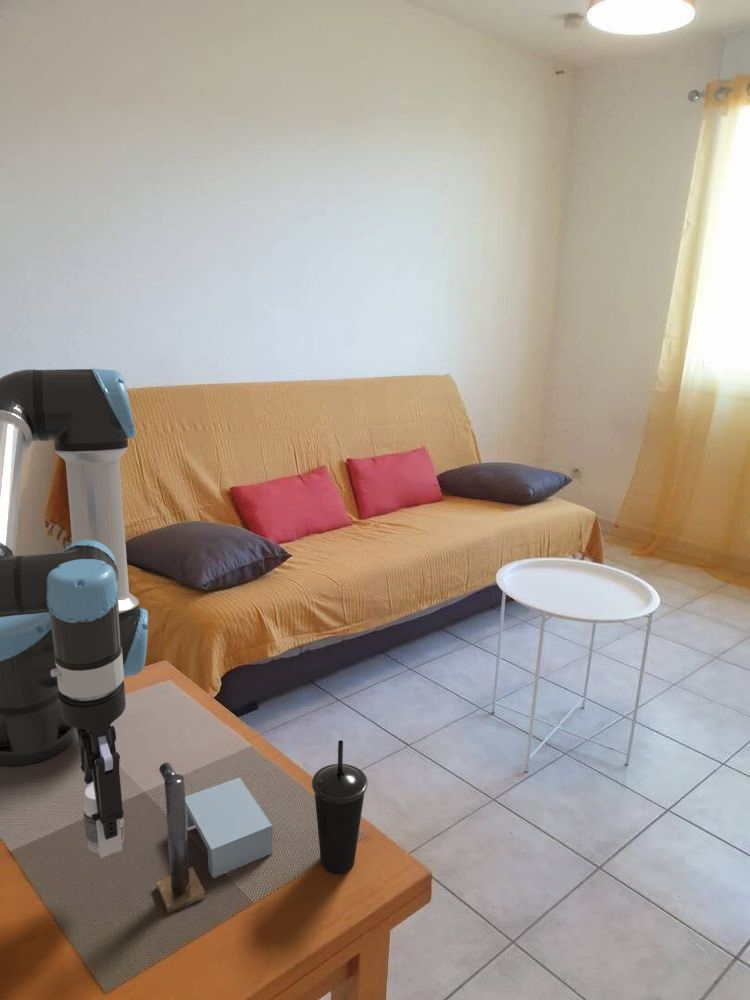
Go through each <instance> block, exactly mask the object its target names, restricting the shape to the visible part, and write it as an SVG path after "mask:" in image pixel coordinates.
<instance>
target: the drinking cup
mask: <svg viewBox="0 0 750 1000" xmlns="http://www.w3.org/2000/svg"><path fill="white" fill-rule="evenodd" d="M343 757H344V741H343V740H338V741H337V763H333V764H328V765H326V766H323V767H322V768H320V769H319V770H317V772H315V773H314V775H313V777H312V781H311V786H312V787H311V788H312V790H313V792H314V800H315V801H314V802H315V810H316V822H317V834H318V843H319V844H318V845H319V854H320V855H319V856H320V864H321V867H322V868H323V869H324V870H325V871H326V872H328V873H330V874H334V875H340V874H343V875H344V874H345V873H348V872H349V871H350V870H351V869H352V868H354V865H355V861H356V860H355V859H356V853H357V846H358V841H359V832H360V827H361V819H362V818H361V817H362V811H363V804H364V797H365V792H366V791H367V788H368V778H367V776H366V774H365V773H364V771H362V770H361V769H359V768H358V767H356V766H354V765H350V764H346V763H343V761H344V758H343Z"/></svg>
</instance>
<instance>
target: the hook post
mask: <svg viewBox="0 0 750 1000" xmlns="http://www.w3.org/2000/svg"><path fill="white" fill-rule="evenodd" d="M174 769H175V768H173V766H172V764H171V763H170V762H164V763H162V764H161V765H160V766H159V773H160V775H161V777H162V778H163V781H164V789H165V790H164V793H165V795H164V796H165V807H166V809H165V810H166V826H167V828H166V829H167V839H168V840H167V842H168V859H169V874H170V875H168V876H167V877H163V878H161V879H159V880H157V881H155V882H156V883H155V884H156V889H157V888H158V889H157V891H158V890H159V891H158V894H159V893H160V894H159V896H160V895H161V896H160V898H161V897H162V898H161V901H162V900H163V901H162V903H163V902H164V903H163V905H165V906H164V907H165V910H166V913H167V914H169V915H170V914H171V913H173V911H174V912H175V910H176V911H179V910H180V909H179V908H181V907H182V906H183V908H185V907H186V906H185V905H187V904H189V903H191V902H194V901H196V900H198V899H201V898H203V897H205V898H206V893H205V889H204V888H203V885H202V883H201V881H200V879H199V877H198V875H197V874H196V871H195V869H194V867H193V866H190V867H189V865H190V864H189V848H188V847H189V845H188V830H187V825H186V806H185V796H186V790H185V788H186V787H185V778H184V777H185V776H183V775H182V774H180V773H179V774H178V773H176V771H175V770H174ZM201 900H202V899H201ZM184 906H185V907H184ZM181 909H182V908H181Z"/></svg>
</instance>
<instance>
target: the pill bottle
mask: <svg viewBox="0 0 750 1000" xmlns="http://www.w3.org/2000/svg"><path fill="white" fill-rule="evenodd" d="M82 810H83V811H82V812H83V813H82V814H83V821H84V822H83V823H84V830H85V839H86V846H87V848H88V849H89V850H90V851H92V852H93V853H97V854H99V845H98V835H97V825H96V821H95V822H93V821H92V816H91V815H93V814H95V813H97V805H96V798H95V791H94V784H93V782H91V783H90V784H87V786H86V787H85V789H84V802H83V806H82ZM124 823H125V822H124V817H123V818H121V819H120V827H121V839H122V843H123V842H124V840H125V839H124V838H125V824H124Z"/></svg>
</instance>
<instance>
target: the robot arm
mask: <svg viewBox="0 0 750 1000" xmlns="http://www.w3.org/2000/svg"><path fill="white" fill-rule="evenodd" d="M136 436H137V433H136V429H135V422H134V419H133V413H132V407H131V404H130V398H129V394H128V389H127V383H126V380H125V377H124V376H123V374H122V373H121V372H119V371H118V370H114V369H101V368H94V367H93V368H88V369H87V368H86V369H85V368H80V369H78V368H76V369H74V368H72V369H71V368H69V369H36V368H35V369H21V370H18V371H13V372H10V373H8V374H6V375H2V377H0V765H1V766H2V765H3V766H11V767H12V766H15V767H17V766H23V765H24V766H25V765H30V764H35V763H39V762H42V761H44V760H48V759H50V758H51V757H54V756H55V755H57V754H60V753H61V752H63V751H64V750H65V749H67V748H68V747H69V746H70V745H71V744H72V743H73V742H74V741H75V738H76V736H77V737H78V744H79V745H78V746H79V747H78V748H79V753H80V763H81V764H80V769H81V771H82V773H84V777H83V780H84V781H83V782H84V783H85V785H89V784H90V783H91V782H93V784H94V791H95V798H96V805H97V813H95V814H93V815H91V816H92V821H93V822H95V821H96V825H97V835H98V845H99V853H98V854H99V858H100V859H102V858H105V857H107V856H110V855H112V854H116V853H119V852H121V851H123V842H122V839H121V827H120V819H121V818H123V819H124V814H125V813H124V811H123V810H124V809H123V798H122V796H123V795H122V787H121V786H122V785H121V773H120V760H121V756H120V754H119V752H118V751H117V750H116V741H117V734H116V728H115V726H114V725H112V724H113V723H114V722H115V721H117V719H118V718H119V717H121V716H122V715H123V713H124V711H125V710H126V706H127V703H126V693H125V692H126V691H125V687H126V686H125V682H124V679H125V678H128V677H132V676H136V675H139V674H140V673H142V671H144V668H145V666H146V665H145V664H146V657H147V650H148V649H147V646H148V632H149V631H148V628H149V627H148V626H149V625H148V624H149V611H148V610H147V609H145V608H140V606H139V604H140V602H139V599H138V598H137V597H136V596H135V595H133V594H132V593H130V588H129V573H128V562H127V559H128V558H127V547H126V535H125V531H126V530H125V519H124V504H123V503H124V502H123V491H122V490H123V489H122V477H121V476H122V475H121V461H120V460H121V457H122V456H123V455H124V454H125V453H126V452H127V450H129V443H128V440H129V439H130V440H132V439H133V438H135V437H136ZM38 441H40V442H47V441H48V442H49V441H53V444H54V445H53V446H54V452H55V454H56V455H58V456H59V457H60V458H62V459H63V461H64V462H65V470H66V484H67V493H68V496H67V497H68V507H69V518H70V519H69V520H70V529H71V530H70V531H71V532H70V534H71V544H70V545H68V546H67V547H65V548H64V549H63V551H62V552H51V553H40V554H39V553H37V554H26V555H23V554H22V555H16V546H17V534H18V522H19V511H20V501H21V500H20V499H21V490H22V488H21V487H22V477H23V467H24V466H23V465H24V464H23V463H24V455H25V453H26V452H27V451H28V450H29V448H30V447H31V445H32V442H38ZM15 555H16V556H15Z"/></svg>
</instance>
